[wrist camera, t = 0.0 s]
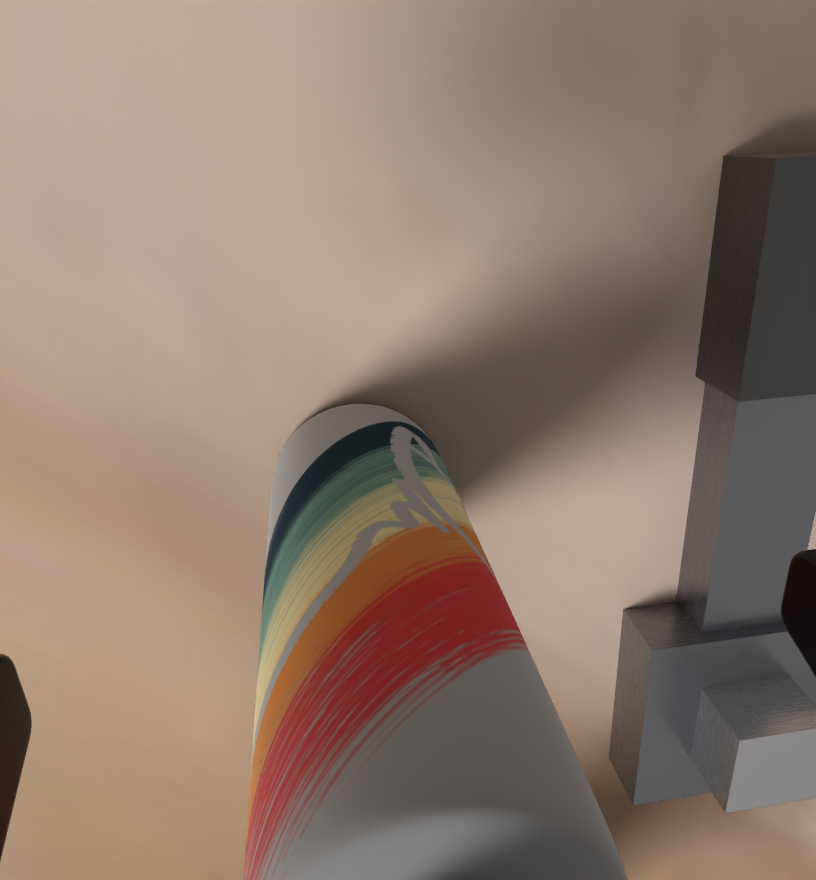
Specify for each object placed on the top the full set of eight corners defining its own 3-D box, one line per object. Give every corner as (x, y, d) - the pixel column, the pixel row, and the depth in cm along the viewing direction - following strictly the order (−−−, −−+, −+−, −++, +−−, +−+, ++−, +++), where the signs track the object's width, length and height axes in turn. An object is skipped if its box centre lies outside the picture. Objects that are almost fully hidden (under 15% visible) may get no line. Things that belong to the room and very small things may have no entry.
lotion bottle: (467, 430, 23) (1064, 1449, 5) (403, 567, 25) (680, 1682, 7) (305, 375, 22) (356, 1557, 4) (249, 525, 24) (93, 1823, 5)
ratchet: (776, 729, 32) (856, 828, 27) (608, 756, 31) (662, 863, 26) (908, 145, 22) (1069, 147, 17) (666, 158, 21) (769, 164, 16)
